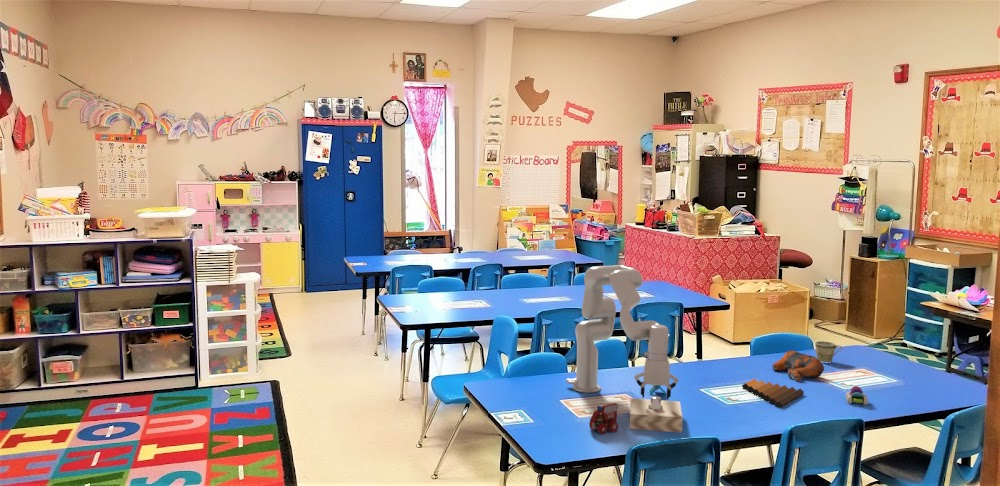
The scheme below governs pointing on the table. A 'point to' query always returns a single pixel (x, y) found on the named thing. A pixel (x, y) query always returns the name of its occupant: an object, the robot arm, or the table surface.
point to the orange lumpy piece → (799, 365)
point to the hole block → (655, 416)
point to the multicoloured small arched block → (856, 396)
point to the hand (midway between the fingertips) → (655, 397)
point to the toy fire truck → (604, 418)
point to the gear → (656, 387)
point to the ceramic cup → (825, 351)
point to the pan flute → (773, 392)
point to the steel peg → (655, 403)
